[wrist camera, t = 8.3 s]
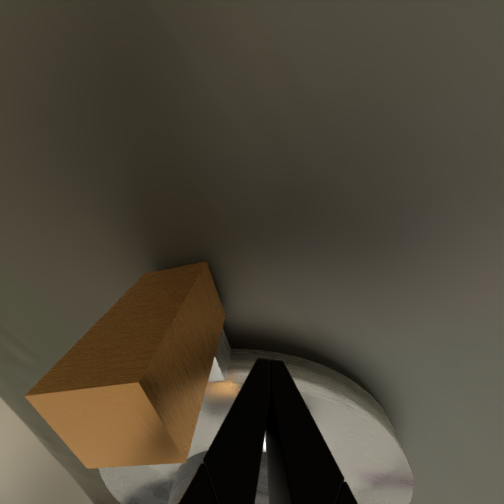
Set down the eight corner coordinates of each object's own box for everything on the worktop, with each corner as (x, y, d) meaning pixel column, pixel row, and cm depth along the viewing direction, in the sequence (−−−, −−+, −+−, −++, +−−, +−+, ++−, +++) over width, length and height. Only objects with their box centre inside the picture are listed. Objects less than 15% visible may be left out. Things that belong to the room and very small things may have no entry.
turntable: (398, 517, 18) (454, 679, 13) (175, 521, 21) (141, 654, 16) (387, 224, 10) (542, 333, 4) (12, 300, 12) (-192, 422, 7)
